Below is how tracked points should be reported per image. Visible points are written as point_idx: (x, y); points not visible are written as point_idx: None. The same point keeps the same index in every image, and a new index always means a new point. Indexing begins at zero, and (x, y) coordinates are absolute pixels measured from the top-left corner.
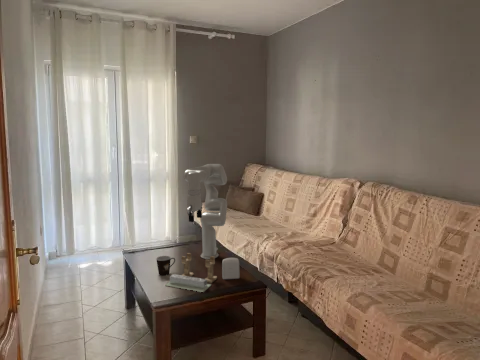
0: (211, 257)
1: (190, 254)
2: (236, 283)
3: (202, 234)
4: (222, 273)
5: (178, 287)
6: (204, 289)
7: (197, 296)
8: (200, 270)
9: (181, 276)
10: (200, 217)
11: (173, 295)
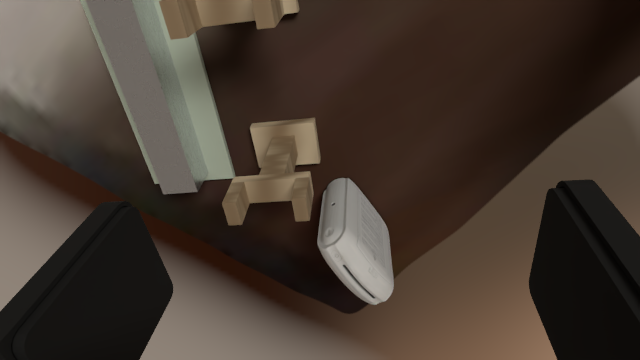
0: (293, 204)
1: (262, 27)
2: (314, 248)
3: None
4: (328, 197)
5: (104, 59)
6: None
7: (118, 181)
8: (381, 7)
9: (131, 50)
10: (534, 280)
11: (42, 87)
